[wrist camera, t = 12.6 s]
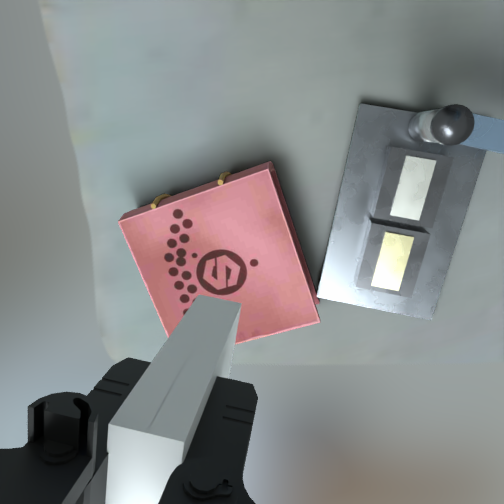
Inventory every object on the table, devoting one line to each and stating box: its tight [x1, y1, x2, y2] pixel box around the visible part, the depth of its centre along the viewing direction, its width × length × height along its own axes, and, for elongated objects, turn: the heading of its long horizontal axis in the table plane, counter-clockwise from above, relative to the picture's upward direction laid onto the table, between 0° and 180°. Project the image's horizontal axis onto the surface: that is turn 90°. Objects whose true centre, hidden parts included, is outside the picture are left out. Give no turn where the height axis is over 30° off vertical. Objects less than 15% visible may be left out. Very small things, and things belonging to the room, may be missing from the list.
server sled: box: [317, 104, 486, 320], centre depth 35 cm, size 18×11×6 cm, turn 171°
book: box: [118, 161, 320, 344], centre depth 39 cm, size 14×15×5 cm
